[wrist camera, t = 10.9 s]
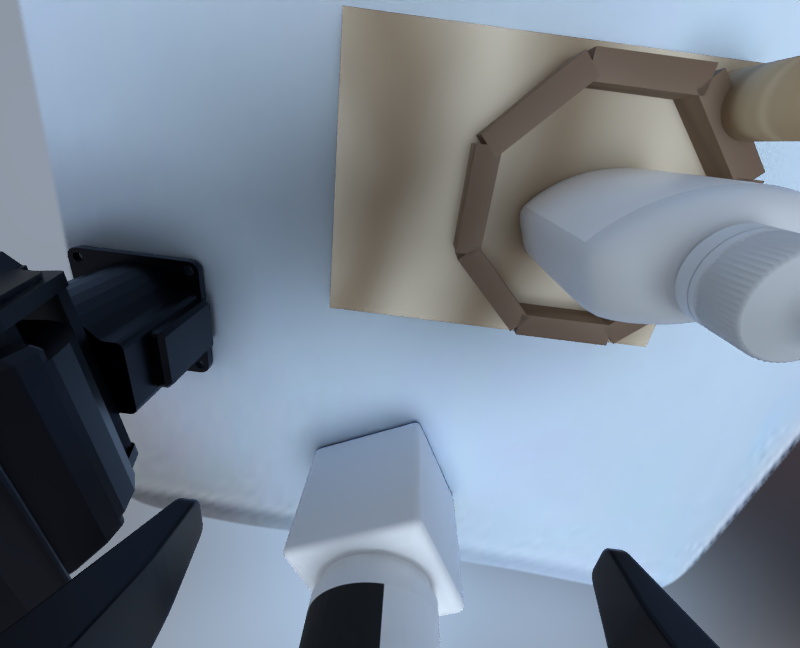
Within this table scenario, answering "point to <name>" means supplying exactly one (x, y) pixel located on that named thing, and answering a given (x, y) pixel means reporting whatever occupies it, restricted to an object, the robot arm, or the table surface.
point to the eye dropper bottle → (676, 253)
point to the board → (515, 157)
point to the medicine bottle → (376, 544)
